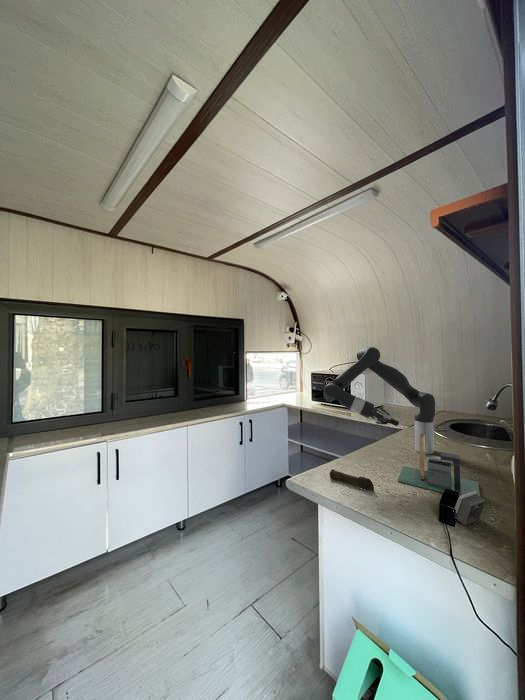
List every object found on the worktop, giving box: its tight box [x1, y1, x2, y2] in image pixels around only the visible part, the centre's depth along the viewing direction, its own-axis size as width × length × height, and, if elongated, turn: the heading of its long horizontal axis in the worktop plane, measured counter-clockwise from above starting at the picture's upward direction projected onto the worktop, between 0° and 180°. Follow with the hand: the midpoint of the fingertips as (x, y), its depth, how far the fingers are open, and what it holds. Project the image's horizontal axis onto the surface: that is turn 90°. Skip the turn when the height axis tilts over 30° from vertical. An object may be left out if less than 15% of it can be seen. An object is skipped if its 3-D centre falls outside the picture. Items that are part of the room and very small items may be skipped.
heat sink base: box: [397, 451, 481, 497], centre depth 114 cm, size 16×28×13 cm, turn 54°
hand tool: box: [329, 469, 375, 492], centre depth 114 cm, size 19×4×5 cm, turn 46°
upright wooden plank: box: [419, 433, 454, 479], centre depth 114 cm, size 6×12×18 cm, turn 54°
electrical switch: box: [454, 491, 487, 526], centre depth 88 cm, size 9×5×9 cm, turn 113°
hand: (398, 424), depth 125 cm, fingers closed
